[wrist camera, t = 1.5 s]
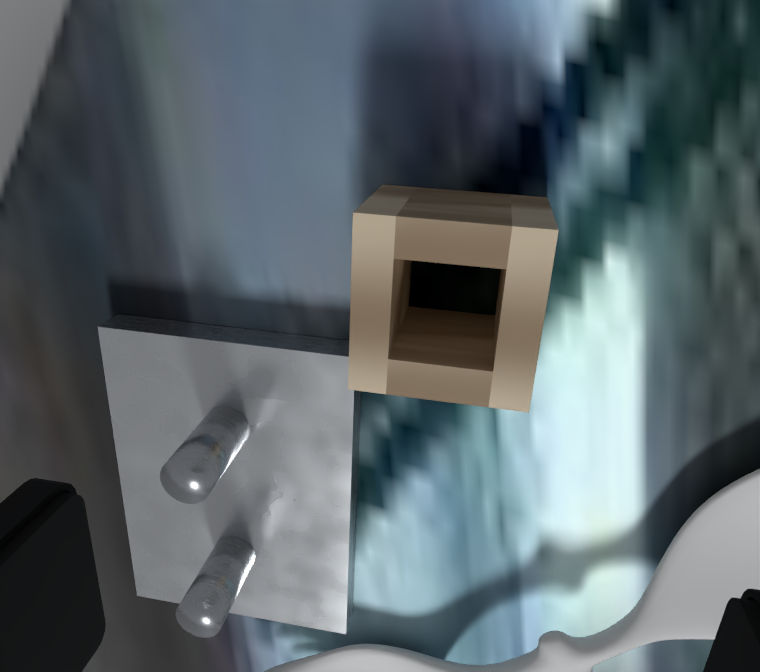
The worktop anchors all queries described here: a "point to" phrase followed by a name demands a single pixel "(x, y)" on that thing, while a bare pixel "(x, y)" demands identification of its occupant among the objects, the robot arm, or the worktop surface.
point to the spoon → (644, 622)
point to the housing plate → (236, 469)
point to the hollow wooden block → (442, 327)
